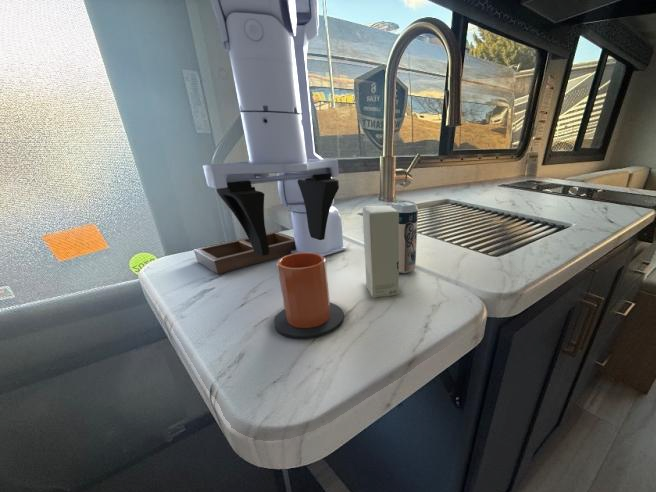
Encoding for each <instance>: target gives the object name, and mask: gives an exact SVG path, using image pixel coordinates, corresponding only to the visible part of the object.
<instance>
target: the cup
mask: <svg viewBox="0 0 656 492" xmlns="http://www.w3.org/2000/svg"><path fill="white" fill-rule="evenodd" d="M276 268H277V273H278V279H279V283H280V290H281V295H282V296H281V297H282V301H283V307H284V309H285V313H286V317H287V322H288V323H289V324H290V325H292V326H294V327H297V328H311V327H316V326H319V325H321V324H323V323H325V322H326V321H328V320H329V318H330V315H331V314H330V311H331V310H330V303H331V300H330V290H329V282H328V271H327V259H326V257H325V256H322V255H320V254H316V253H295V254H288V255H285V256H281V257H279V258H278V260H277V261H276Z"/></svg>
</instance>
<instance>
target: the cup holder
mask: <svg viewBox="0 0 656 492" xmlns="http://www.w3.org/2000/svg"><path fill="white" fill-rule="evenodd" d="M266 235H267V240H268V245H269V254H268V255H264V256H262V255H260V254H258V253H256V252H254V250H253V247H252V245H251V243H250V241H249V238H248V237H245V238H239V239H236V240H235V239H234V240H231V241H230V240H229V241H227V242H221V243H217V244H213V245H212V244H211V245H208V246H207V245H206V246H204V247H199V248H194V249H193V252H194V255H195V259H196V262H197V263H199V264H200V265H202V266H203V267H205V268H207V270H210V271H211V272H213V273H215V274H217V275H221V274H224V273H228V272H231V271H235V270H239V269H242V268H245V267H246V268H247V267H248V266H252V265H256V264H259V263H260V264H261V263H264V262H267V261H270V260H273V259H279V258H282V257H284V256H287V255H290V254H292V253H291V251H293V250H296V246H295V239H294V236H291V235H287V234H285V233H282V232H279V231H272V232H268V233H267V232H266Z"/></svg>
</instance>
